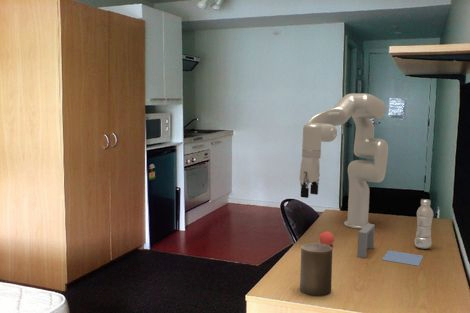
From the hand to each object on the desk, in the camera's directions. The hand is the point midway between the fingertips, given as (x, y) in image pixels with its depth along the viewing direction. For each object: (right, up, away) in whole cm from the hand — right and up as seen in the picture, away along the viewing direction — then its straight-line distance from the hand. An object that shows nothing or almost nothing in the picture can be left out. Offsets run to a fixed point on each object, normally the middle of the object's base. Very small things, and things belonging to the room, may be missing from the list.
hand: (309, 195), depth 194 cm
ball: (+7, -18, -1) cm, 19 cm away
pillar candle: (-6, -26, -47) cm, 53 cm away
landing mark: (+33, -23, -14) cm, 43 cm away
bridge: (+21, -22, -8) cm, 31 cm away
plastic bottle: (+46, -22, -1) cm, 51 cm away
